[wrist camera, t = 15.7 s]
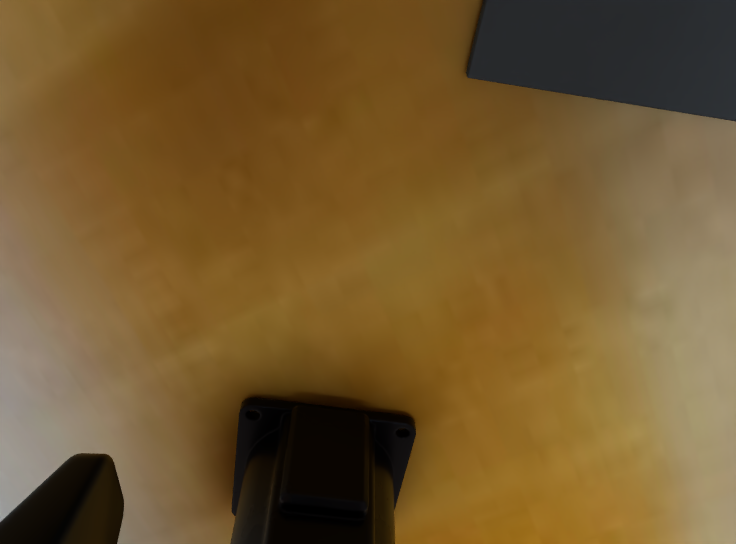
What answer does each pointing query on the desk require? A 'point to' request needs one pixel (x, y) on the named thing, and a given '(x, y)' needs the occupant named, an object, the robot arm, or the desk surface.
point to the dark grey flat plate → (614, 51)
